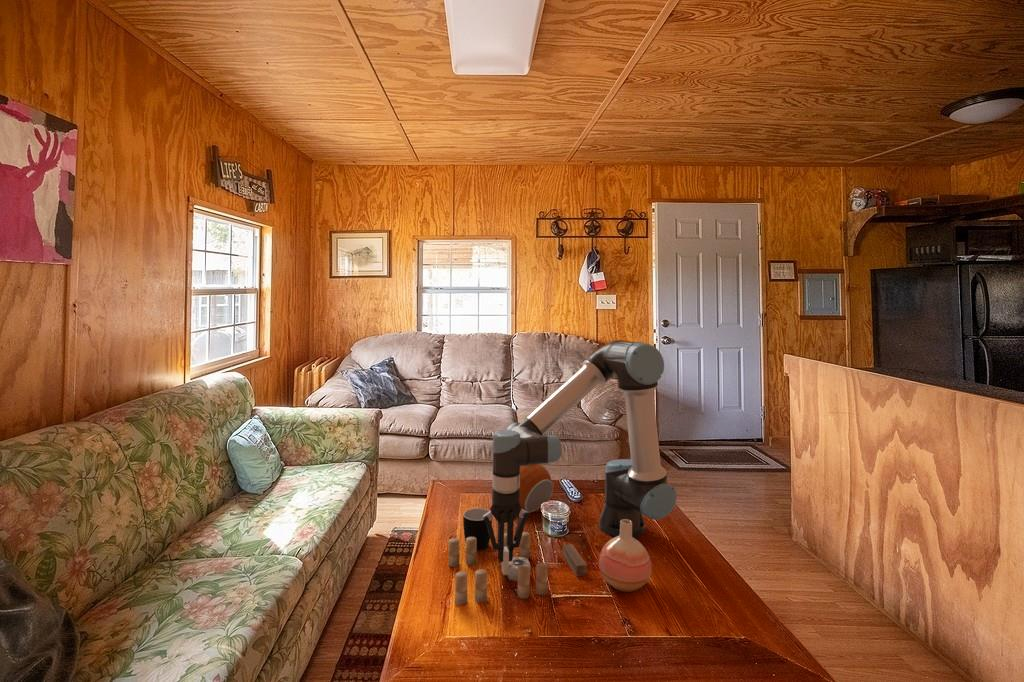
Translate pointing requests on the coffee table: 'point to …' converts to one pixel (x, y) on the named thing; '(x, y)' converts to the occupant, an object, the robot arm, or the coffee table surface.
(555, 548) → the coffee table surface
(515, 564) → the nut
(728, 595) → the coffee table surface
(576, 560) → the rail
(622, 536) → the vase
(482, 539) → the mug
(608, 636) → the coffee table surface
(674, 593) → the coffee table surface
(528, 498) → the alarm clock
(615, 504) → the robot arm
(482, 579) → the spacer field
